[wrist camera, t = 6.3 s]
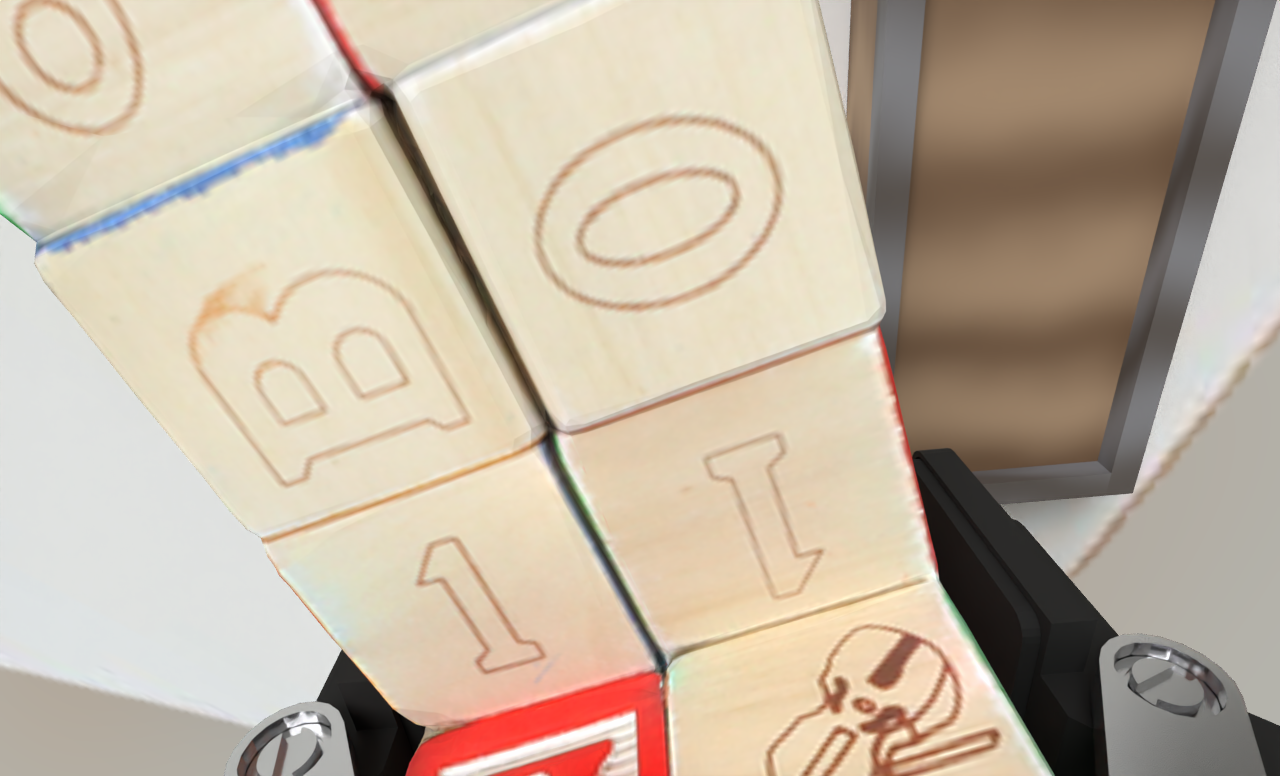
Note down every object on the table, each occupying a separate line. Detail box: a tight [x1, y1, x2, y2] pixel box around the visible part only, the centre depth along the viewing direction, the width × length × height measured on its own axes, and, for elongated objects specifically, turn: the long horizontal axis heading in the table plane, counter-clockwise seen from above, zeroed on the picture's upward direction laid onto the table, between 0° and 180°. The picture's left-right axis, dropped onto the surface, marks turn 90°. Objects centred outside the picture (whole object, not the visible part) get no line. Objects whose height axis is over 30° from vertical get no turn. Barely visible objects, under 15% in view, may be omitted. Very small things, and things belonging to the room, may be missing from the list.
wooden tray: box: [847, 0, 1277, 504], centre depth 26 cm, size 27×12×4 cm, turn 6°
